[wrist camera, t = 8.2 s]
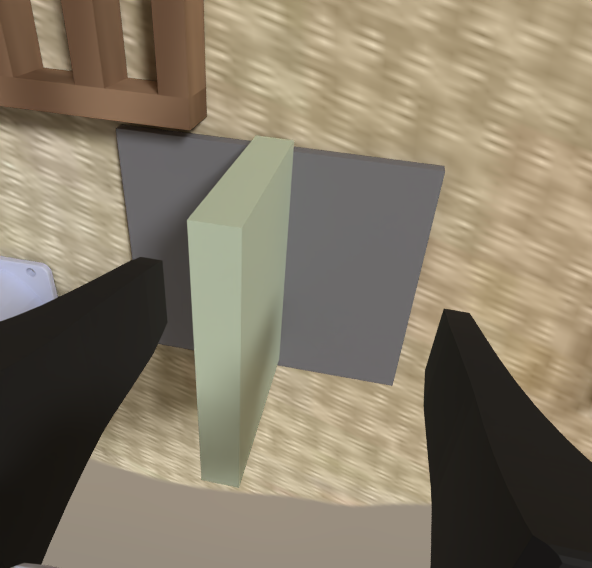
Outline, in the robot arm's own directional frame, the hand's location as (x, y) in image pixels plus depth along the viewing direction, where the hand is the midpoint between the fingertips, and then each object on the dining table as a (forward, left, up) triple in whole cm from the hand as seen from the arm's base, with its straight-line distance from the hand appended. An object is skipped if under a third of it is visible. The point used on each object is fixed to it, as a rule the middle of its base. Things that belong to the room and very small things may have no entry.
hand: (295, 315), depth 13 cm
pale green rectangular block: (-3, -5, -10) cm, 11 cm away
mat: (-3, -5, -11) cm, 12 cm away
